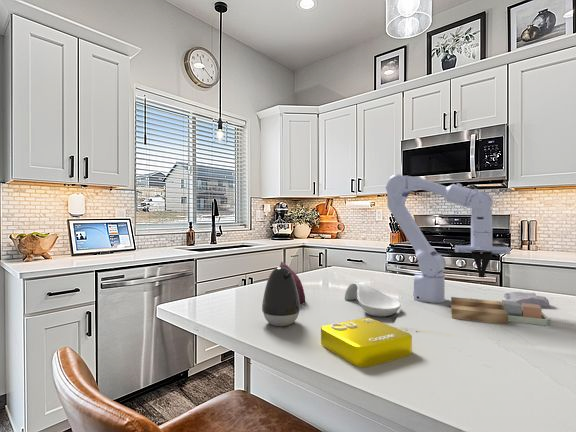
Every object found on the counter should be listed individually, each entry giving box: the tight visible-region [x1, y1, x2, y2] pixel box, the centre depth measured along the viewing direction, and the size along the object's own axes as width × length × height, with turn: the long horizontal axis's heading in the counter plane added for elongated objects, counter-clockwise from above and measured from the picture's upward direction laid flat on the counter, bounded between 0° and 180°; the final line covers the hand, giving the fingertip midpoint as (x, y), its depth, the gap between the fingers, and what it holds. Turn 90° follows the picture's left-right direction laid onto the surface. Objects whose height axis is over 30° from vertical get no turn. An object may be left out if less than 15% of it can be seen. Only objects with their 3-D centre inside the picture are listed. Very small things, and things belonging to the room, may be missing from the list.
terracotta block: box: [520, 303, 543, 319], centre depth 93 cm, size 4×4×4 cm
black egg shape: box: [261, 266, 301, 327], centre depth 93 cm, size 10×10×15 cm
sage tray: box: [508, 311, 551, 327], centre depth 93 cm, size 9×8×2 cm
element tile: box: [320, 317, 413, 368], centre depth 76 cm, size 15×15×5 cm
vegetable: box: [279, 261, 306, 305], centre depth 115 cm, size 10×10×15 cm
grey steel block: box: [500, 299, 522, 317], centre depth 94 cm, size 4×4×4 cm
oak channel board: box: [450, 296, 509, 325], centre depth 98 cm, size 13×14×4 cm
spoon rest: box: [344, 281, 401, 318], centre depth 107 cm, size 24×12×7 cm, turn 19°
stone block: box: [503, 291, 550, 309], centre depth 110 cm, size 12×5×10 cm
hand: (481, 276), depth 105 cm, fingers closed
